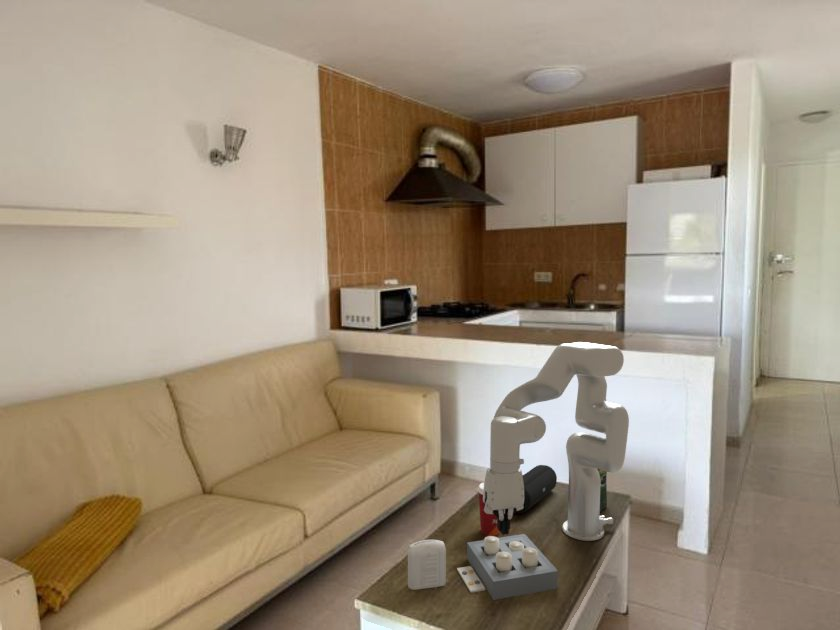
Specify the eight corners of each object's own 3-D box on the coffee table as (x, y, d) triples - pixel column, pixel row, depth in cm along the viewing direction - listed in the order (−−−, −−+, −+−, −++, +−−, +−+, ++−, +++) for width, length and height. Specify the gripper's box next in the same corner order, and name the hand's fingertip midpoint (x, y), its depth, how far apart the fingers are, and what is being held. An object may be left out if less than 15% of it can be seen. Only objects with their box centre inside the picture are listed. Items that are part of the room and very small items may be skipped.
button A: (519, 555, 164) (520, 539, 164) (526, 563, 160) (526, 547, 160) (506, 557, 163) (506, 541, 163) (512, 565, 159) (512, 549, 159)
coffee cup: (502, 539, 175) (503, 492, 173) (476, 536, 176) (476, 490, 175) (504, 526, 183) (504, 481, 181) (478, 523, 185) (478, 479, 183)
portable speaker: (527, 519, 188) (527, 490, 187) (500, 511, 194) (501, 483, 193) (558, 492, 208) (559, 466, 207) (533, 485, 214) (534, 460, 213)
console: (524, 549, 169) (524, 533, 168) (557, 588, 149) (557, 570, 149) (466, 558, 164) (467, 542, 163) (493, 600, 145) (493, 581, 144)
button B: (533, 562, 156) (533, 545, 155) (540, 571, 152) (540, 553, 151) (519, 565, 155) (519, 548, 154) (525, 573, 151) (526, 556, 150)
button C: (495, 550, 162) (495, 534, 161) (501, 558, 158) (501, 541, 157) (481, 553, 161) (481, 536, 160) (487, 560, 157) (487, 544, 156)
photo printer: (443, 577, 155) (443, 534, 153) (447, 586, 151) (447, 542, 149) (406, 583, 153) (405, 539, 151) (409, 592, 149) (409, 547, 147)
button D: (507, 566, 154) (508, 549, 153) (514, 575, 150) (514, 558, 149) (493, 569, 153) (493, 552, 152) (499, 578, 149) (499, 560, 148)
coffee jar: (589, 499, 202) (590, 448, 200) (610, 506, 196) (611, 454, 194) (574, 508, 195) (576, 456, 193) (596, 515, 190) (597, 462, 187)
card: (470, 567, 160) (470, 565, 160) (485, 590, 149) (485, 587, 149) (457, 569, 159) (457, 567, 159) (470, 592, 148) (470, 590, 148)
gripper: (524, 457, 153) (523, 522, 155) (472, 462, 149) (471, 529, 151) (537, 467, 146) (535, 535, 148) (482, 473, 142) (482, 543, 144)
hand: (503, 532), depth 150 cm, fingers closed
